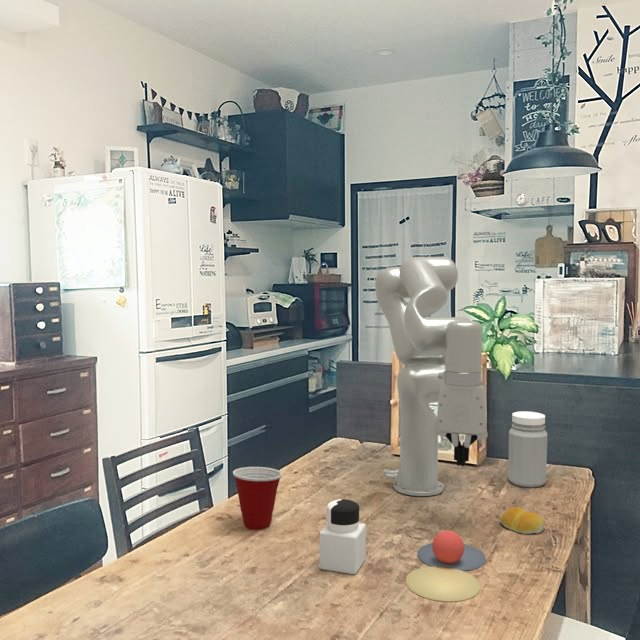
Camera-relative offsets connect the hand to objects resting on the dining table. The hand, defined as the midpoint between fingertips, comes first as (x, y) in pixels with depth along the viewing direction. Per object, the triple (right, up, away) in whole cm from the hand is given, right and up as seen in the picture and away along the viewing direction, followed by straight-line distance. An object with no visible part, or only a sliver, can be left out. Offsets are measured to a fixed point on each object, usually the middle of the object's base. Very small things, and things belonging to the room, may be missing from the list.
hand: (461, 463), depth 144 cm
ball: (-6, -12, -16) cm, 21 cm away
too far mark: (-8, -16, -25) cm, 30 cm away
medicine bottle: (-26, -16, -17) cm, 35 cm away
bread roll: (+14, -15, +2) cm, 20 cm away
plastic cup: (-44, -14, +3) cm, 46 cm away
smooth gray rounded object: (-5, -15, -13) cm, 21 cm away
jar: (+24, -12, +32) cm, 42 cm away
